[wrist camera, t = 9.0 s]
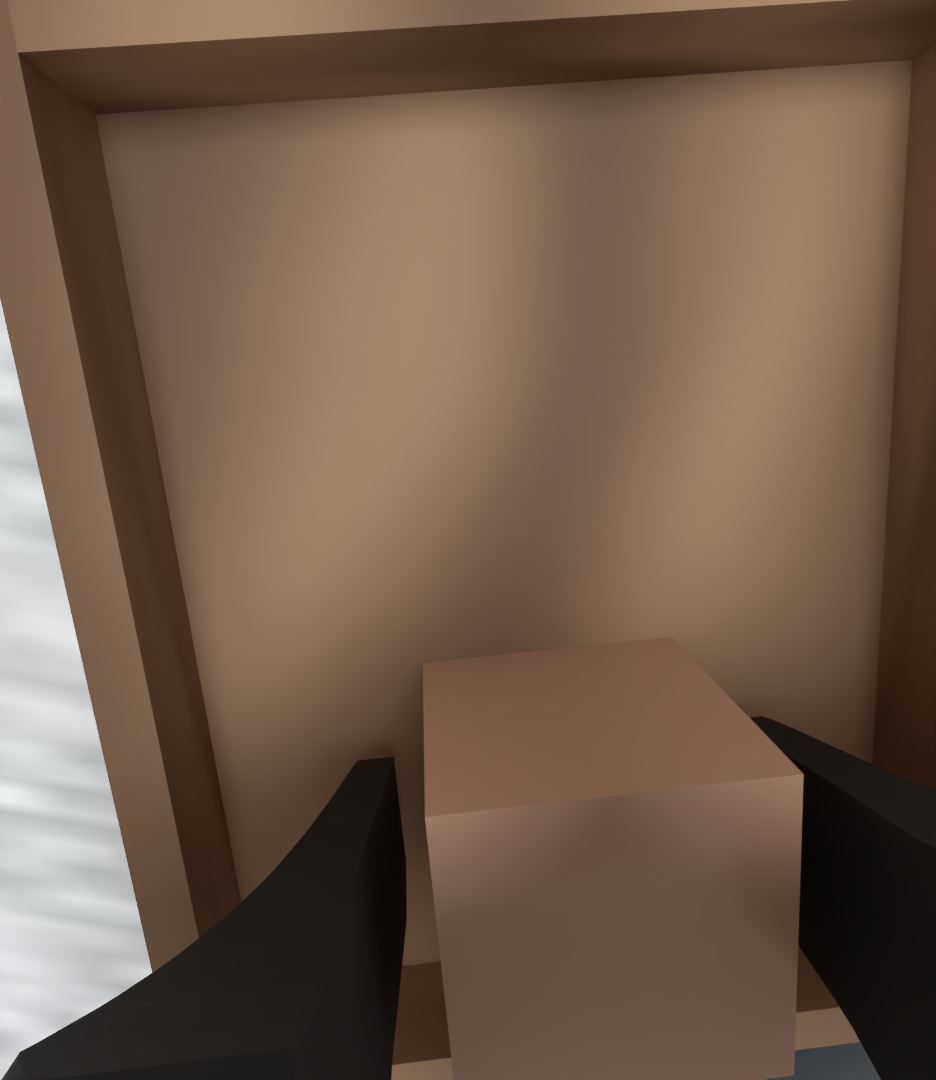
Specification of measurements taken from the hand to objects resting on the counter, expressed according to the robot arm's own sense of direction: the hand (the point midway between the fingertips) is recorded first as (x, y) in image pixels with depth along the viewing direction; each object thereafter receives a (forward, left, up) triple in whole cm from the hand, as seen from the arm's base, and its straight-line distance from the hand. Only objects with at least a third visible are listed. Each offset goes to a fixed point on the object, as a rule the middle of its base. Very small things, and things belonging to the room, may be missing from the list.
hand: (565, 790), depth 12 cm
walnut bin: (0, -4, -1) cm, 4 cm away
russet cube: (0, 0, -1) cm, 1 cm away
